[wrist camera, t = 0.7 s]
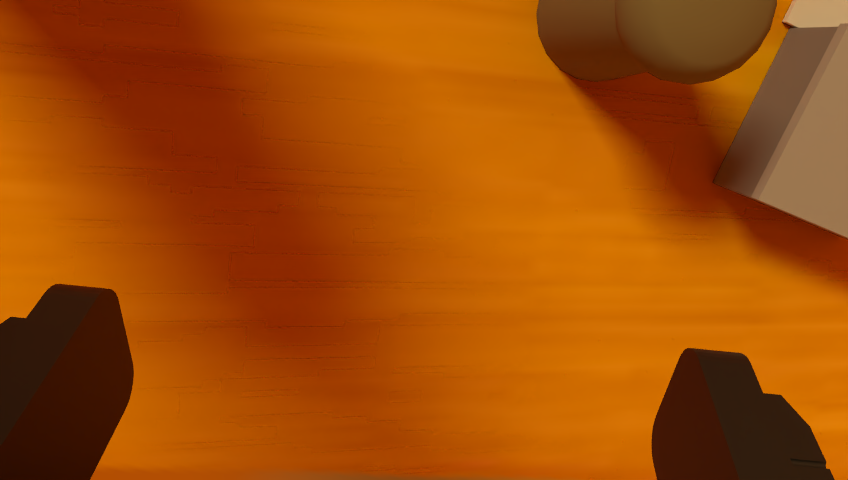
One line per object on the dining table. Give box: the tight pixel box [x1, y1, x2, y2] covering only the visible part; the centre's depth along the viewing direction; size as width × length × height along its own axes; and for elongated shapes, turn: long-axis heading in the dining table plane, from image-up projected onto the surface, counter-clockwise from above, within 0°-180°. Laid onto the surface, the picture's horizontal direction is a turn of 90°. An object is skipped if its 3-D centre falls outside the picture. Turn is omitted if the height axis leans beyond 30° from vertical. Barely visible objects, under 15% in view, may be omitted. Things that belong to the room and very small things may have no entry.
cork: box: [537, 0, 777, 84], centre depth 28 cm, size 6×6×11 cm
